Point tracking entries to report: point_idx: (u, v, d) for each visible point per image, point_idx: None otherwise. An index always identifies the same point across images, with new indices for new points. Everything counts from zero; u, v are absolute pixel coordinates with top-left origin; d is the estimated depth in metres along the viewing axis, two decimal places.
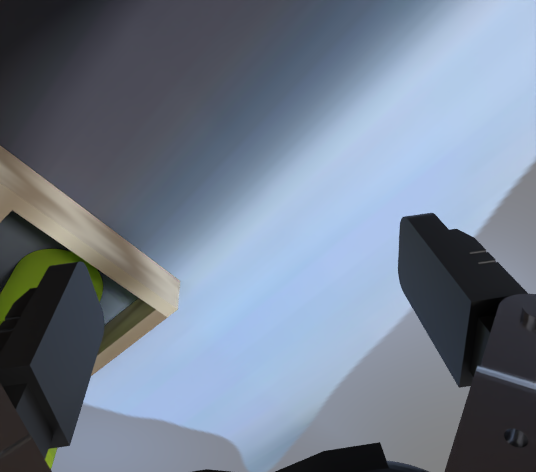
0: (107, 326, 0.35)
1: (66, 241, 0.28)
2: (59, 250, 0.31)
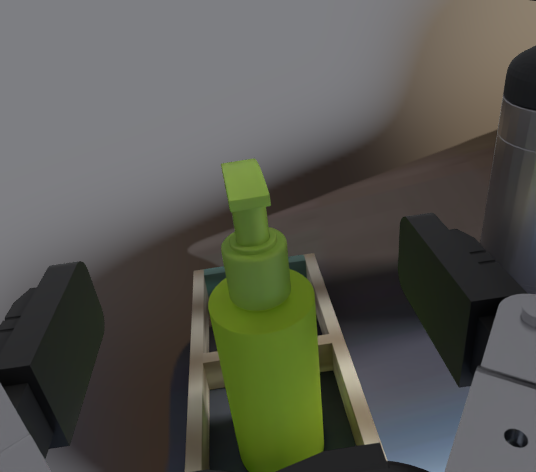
0: None
1: (347, 374, 0.33)
2: None
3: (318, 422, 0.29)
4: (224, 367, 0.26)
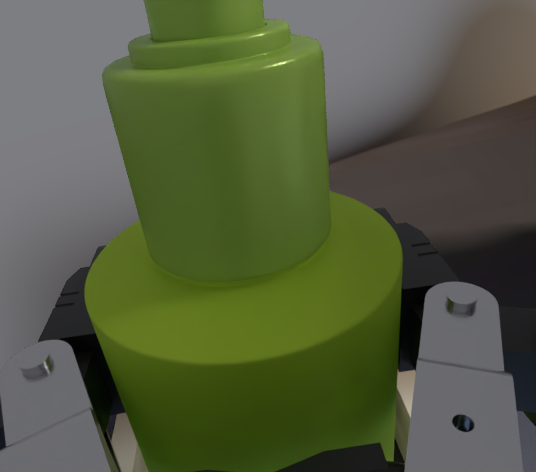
0: None
1: None
2: None
3: None
4: (140, 450, 0.09)
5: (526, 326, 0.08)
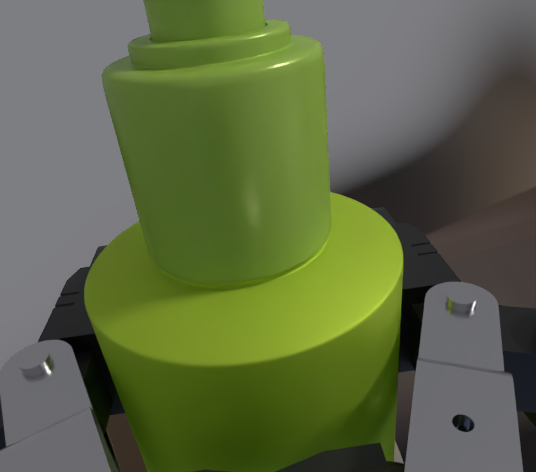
0: None
1: None
2: None
3: None
4: (140, 452, 0.09)
5: (526, 326, 0.08)
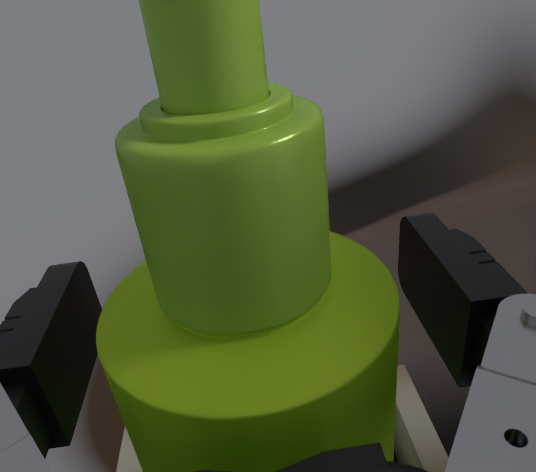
0: None
1: None
2: None
3: None
4: None
5: None
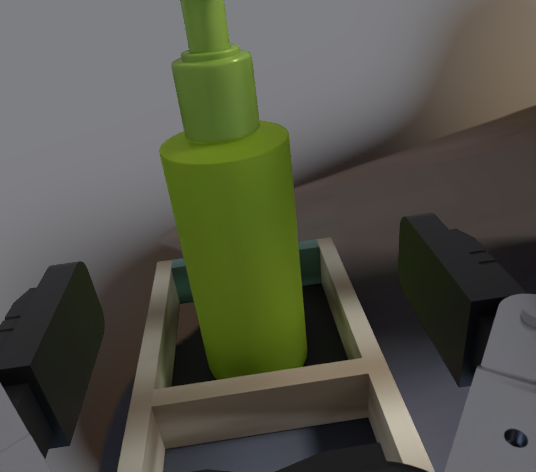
0: None
1: (400, 432, 0.19)
2: None
3: (298, 312, 0.25)
4: (180, 228, 0.22)
5: None
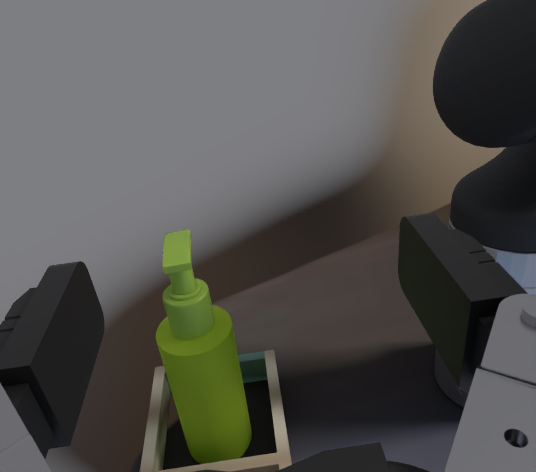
0: None
1: None
2: None
3: (242, 419, 0.40)
4: (168, 378, 0.37)
5: None
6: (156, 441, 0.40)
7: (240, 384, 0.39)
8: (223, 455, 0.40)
